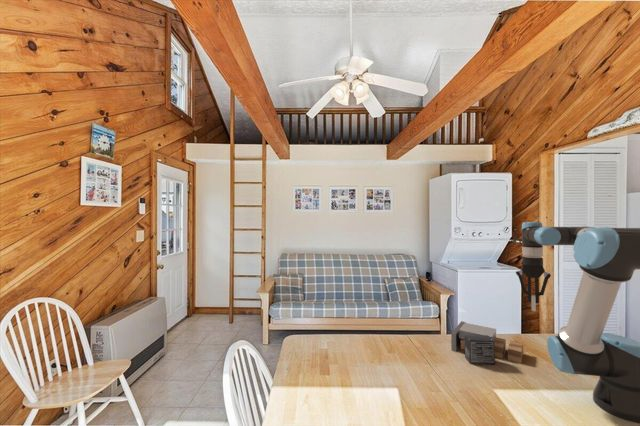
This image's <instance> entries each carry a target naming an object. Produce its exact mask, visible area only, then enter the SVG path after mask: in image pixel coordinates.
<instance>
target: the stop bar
mask: <svg viewBox="0 0 640 426" xmlns="http://www.w3.org/2000/svg"><path fill="white" fill-rule="evenodd" d="M464 323H466V321H460V322H459V324H458V325H457V326H455V328H454V329H453V331H452V332H451V334H450V335H451V337H450V338H451V339H450V340H451V341H450V343H451V351H453V352H457V350H458V349H459V348H460V347H461V339H460V338H459V329H460V328H461V327H462V326H463V324H464Z"/></svg>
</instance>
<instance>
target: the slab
mask: <svg viewBox="0 0 640 426" xmlns="http://www.w3.org/2000/svg"><path fill="white" fill-rule="evenodd" d="M465 335H488V336H489V337H491V338H492V339H493V340H494V341H495V339H496V338H497V328H494V327H493V328H492V327H488V326H483V325H477V324H473V323H467V322H465V323H464V324H463V326H462V327H461V328H460V329H459V338H460V339H465Z"/></svg>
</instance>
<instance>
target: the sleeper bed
mask: <svg viewBox="0 0 640 426" xmlns="http://www.w3.org/2000/svg"><path fill="white" fill-rule="evenodd" d="M506 349H507V361H509V362H512V363H513V362H514V363H519V364H522V361H523V358H524V343H523V342H519V341H514V340H510V341H509V344H508V347H507V343H506V339H505V338H501V337H496V339H495V341H494V351H495V358H496V359H497V358H498V359H501V360H504V359H503V358H504V356H505V353H506Z"/></svg>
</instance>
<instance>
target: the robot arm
mask: <svg viewBox="0 0 640 426" xmlns="http://www.w3.org/2000/svg"><path fill="white" fill-rule="evenodd" d="M520 231H521V244H522V245H521V253H522V257H521V258H522V265H521V269H519V270H516V271H515V274H516V276H517V277H518V279H519V283H520V286H521V289H522V290H521V291H522V293H523V294H526V295H527V300H528V303H529V304H530V305H531V311H532V312H536V311H537V310H536V309H537V304H539V303H540V301H539V299H540V298H539V297H540V296H541V297H542V296H544V295H545V292H546V288H547V284H548V280H549V279H550V277H552V275H551V273H549V272H547V271H546V270H545V268H544V258H543V257H544V246H545V247H547V246H548V247H552V246H573V249H572V250H573V252H574V253H573V257H574V260H575V262H576V263H577V264H578V267H579V269H580V270H581V271H582V276H581V279H580V282H579V286H578V288H577V292H576V295H575V297H574V302H573V304H572V307H571V311H570V315H569V317H568V320H567V325H565V326H562V327H560V329H559V331H558V333H557V335H549V336H548V337H547V340H546V344H547V351H548V354H549V357H550V359H551V362H552V364H553V365H554V367H555V368H556V369H557V370H558V371H560V372H562V373H564V374H571V375H583V376H593V377H594V376H595V377H599V379H598V381H597V383H596V385H595V386H594V389H593V391H592V400H593V402H594V404H596V406H598V407H599V408H600V409H602V410H603V411H605V412H607V413H608V414H611V415H614V416H616V417H618V418H621V419H624V420H627V421H629V422H635V423H638V424H639V423H640V342H639V341H636V340H634V339H631V338H628V337H625V336H622V335H619V334H614V333H610V332H604V330H605V328H606V325H607V322H608V319H609V318H610V314H611V311H612V309H613V306H614V305H615V304H614V303H615V301H616V298H617V295H618V293H619V290H620V287H621V284H622V283H626V282H629V281H630V280H632V278H633V274H634V272H635V271H636V270H640V227H608V226H602V227H594V226H543V223H542V222H540V221H524V222H522V224H521V229H520ZM523 274H524V275H525V276H526V277H527V289H526V284H525V281H524V279H523ZM542 275H543V277H544V278H543V282H542V285H541V289H540V290H539V288H540V287H539V278H541V277H542ZM532 278H533V279H534V294H532Z"/></svg>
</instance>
